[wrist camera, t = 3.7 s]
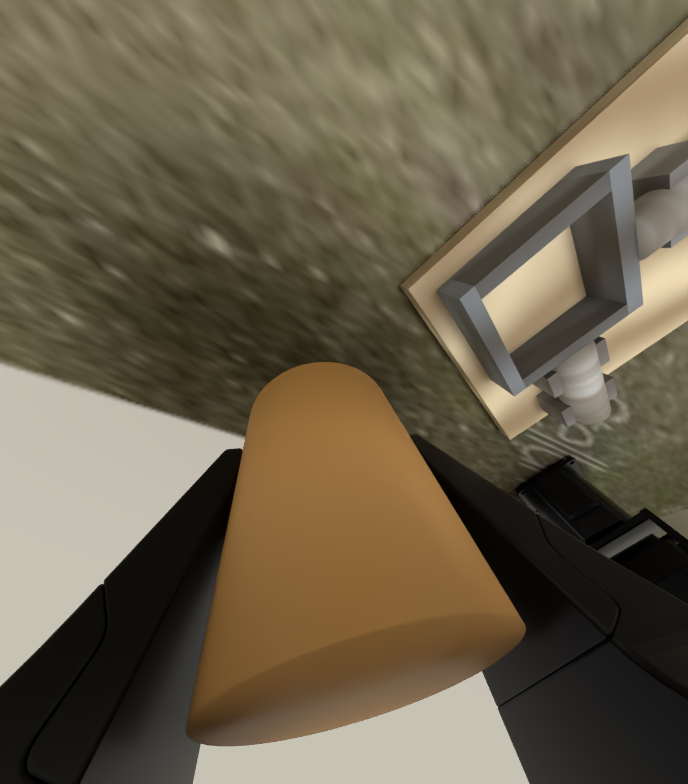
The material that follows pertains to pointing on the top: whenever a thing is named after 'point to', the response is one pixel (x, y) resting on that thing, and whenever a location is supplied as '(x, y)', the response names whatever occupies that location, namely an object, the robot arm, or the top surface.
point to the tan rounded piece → (339, 572)
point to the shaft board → (573, 257)
